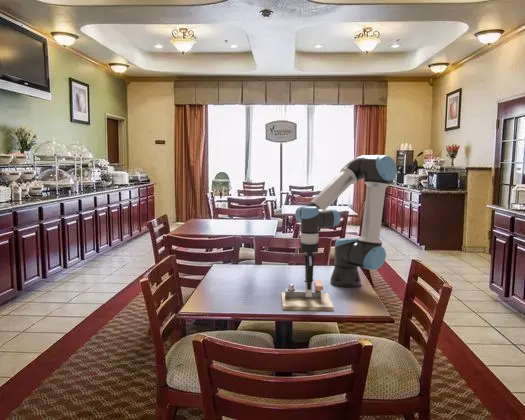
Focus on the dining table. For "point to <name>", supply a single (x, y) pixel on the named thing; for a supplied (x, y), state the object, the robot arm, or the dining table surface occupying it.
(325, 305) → the board
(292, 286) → the pintle
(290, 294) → the link
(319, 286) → the keeper
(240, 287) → the dining table surface
